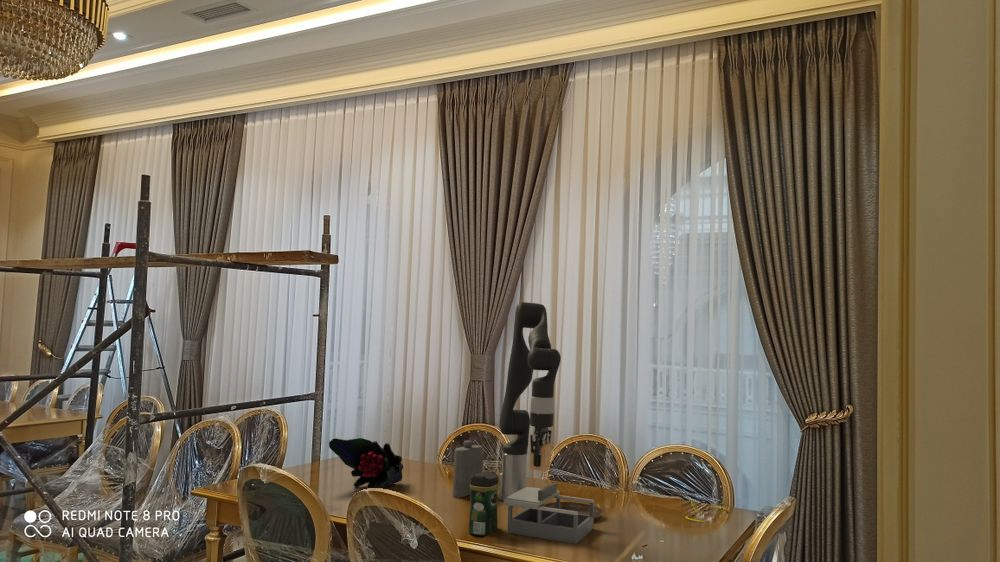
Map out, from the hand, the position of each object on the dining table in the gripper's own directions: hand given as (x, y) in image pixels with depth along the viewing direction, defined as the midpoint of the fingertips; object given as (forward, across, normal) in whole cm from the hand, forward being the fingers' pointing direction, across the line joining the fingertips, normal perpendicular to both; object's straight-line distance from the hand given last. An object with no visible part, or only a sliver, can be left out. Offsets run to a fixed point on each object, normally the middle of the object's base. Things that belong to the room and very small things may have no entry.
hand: (539, 464), depth 221 cm
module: (+1, 0, 0) cm, 1 cm away
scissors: (+21, -50, +46) cm, 71 cm away
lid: (+11, +1, -2) cm, 11 cm away
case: (+21, +1, +5) cm, 21 cm away
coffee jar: (+21, +11, -14) cm, 28 cm away
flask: (+22, -33, -41) cm, 57 cm away
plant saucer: (+21, -21, +5) cm, 30 cm away
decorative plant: (+22, -22, -76) cm, 82 cm away
